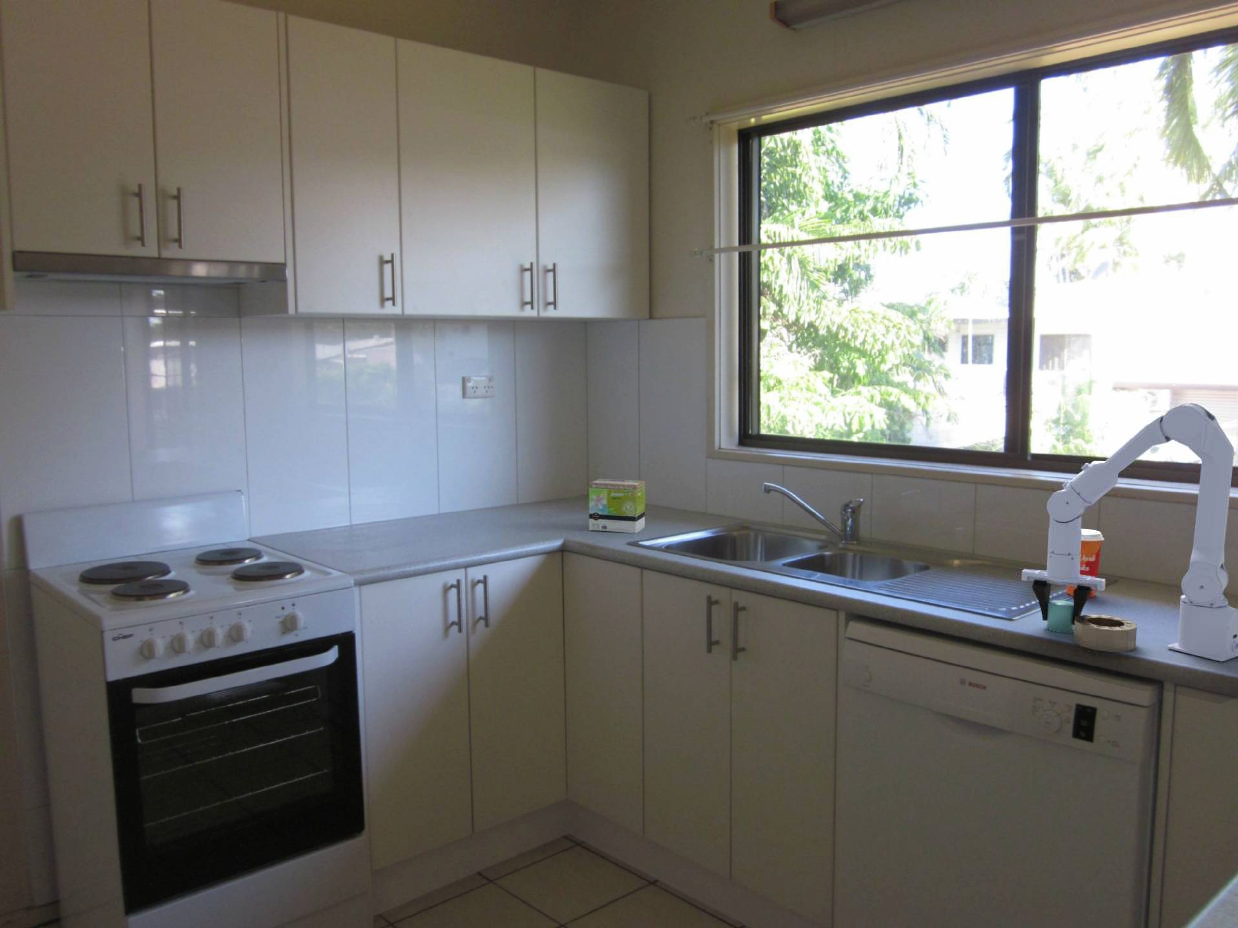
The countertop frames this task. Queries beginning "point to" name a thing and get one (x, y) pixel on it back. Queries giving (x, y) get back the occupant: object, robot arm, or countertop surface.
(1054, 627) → the teal rounded cylinder
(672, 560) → the countertop surface
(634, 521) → the tea box
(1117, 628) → the brown faceted tube
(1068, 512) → the robot arm
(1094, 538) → the paper cup
